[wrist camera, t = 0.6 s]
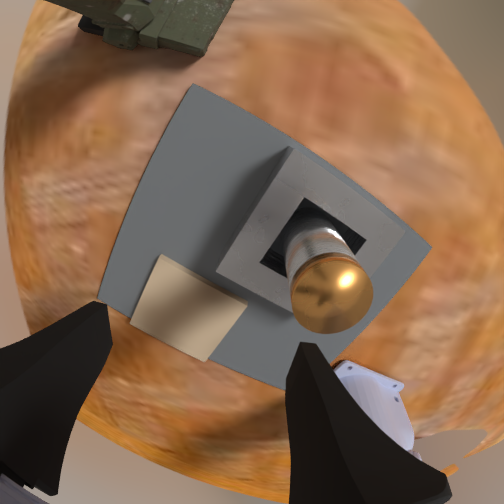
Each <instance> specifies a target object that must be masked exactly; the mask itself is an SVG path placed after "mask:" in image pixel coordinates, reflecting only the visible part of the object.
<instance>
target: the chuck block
mask: <svg viewBox="0 0 504 504" xmlns="http://www.w3.org/2000/svg"><path fill="white" fill-rule="evenodd" d="M304 197H305V198H307V199H308V200H310V201H311V202H313V203H315V204H316V205H318V206H319V207H320V208H322V209H323V210H325V211H326V212H328V213H329V214H331V215H332V216H334V217H335V218H337V219H338V220H340V221H341V222H342V223H344V224H345V225H347V226H348V227H349V228H348V229H347V231H346V232H345V234H344V235H343V236H342V238H343V240H344V241H345V242H346V244H347V245H348V247H349V248H350V250H351V251H352V253H353V254H354V256H355V257H356V259H357V260H358V262H359V263H360V265H361V266H362V268H363V269H364V271H365V272H366V274H367V275H368V277H369V278H370V277H371V276H372V275H373V274H374V272H375V271H376V270H377V269H378V267H379V266H380V265H381V263H382V262H383V261H384V260H385V258H386V257H387V256H388V254H389V253H390V252H391V251H392V249H393V248H394V247H395V245H396V244H397V243H398V241H399V240H400V239H401V237H402V236H403V234H404V233H405V232H406V231H405V230H403V229H402V228H401V227H400V226H399V225H397V224H396V223H395V222H394V221H393V220H391V219H390V218H389V217H388V216H387V215H385V214H384V213H383V212H382V211H380V210H379V209H378V208H377V207H375V206H374V205H373V204H372V203H370V202H369V201H368V200H366V199H365V198H364V197H363V196H361V195H360V194H359V193H357V192H356V191H355V190H353V189H352V188H351V187H349V186H348V185H347V184H345V183H344V182H342V181H341V180H340V179H338V178H337V177H335V176H334V175H333V174H331V173H330V172H328V171H327V170H326V169H324V168H323V167H321V166H320V165H318V164H317V163H315V162H314V161H312V160H311V159H309V158H308V157H306V156H305V155H303V154H302V153H300V152H299V151H297V150H296V149H294V148H292V147H290V146H288V148H287V149H286V151H285V152H284V154H283V155H282V157H281V158H280V160H279V162H278V163H277V165H276V166H275V168H274V169H273V171H272V172H271V174H270V175H269V177H268V178H267V180H266V182H265V183H264V185H263V186H262V188H261V189H260V191H259V192H258V194H257V196H256V197H255V199H254V200H253V202H252V203H251V205H250V207H249V208H248V210H247V211H246V213H245V215H244V216H243V218H242V219H241V221H240V222H239V224H238V226H237V227H236V229H235V230H234V232H233V234H232V235H231V237H230V239H229V240H228V242H227V243H226V245H225V247H224V248H223V250H222V252H221V255H220V259H219V262H218V265H217V268H216V271H215V272H217V273H219V274H221V275H223V276H225V277H226V278H228V279H230V280H232V281H234V282H236V283H237V284H239V285H241V286H243V287H245V288H247V289H249V290H250V291H252V292H254V293H256V294H258V295H260V296H262V297H264V298H265V299H267V300H269V301H271V302H273V303H275V304H277V305H279V306H281V307H283V308H285V309H286V310H288V311H290V312H292V313H293V311H292V304H291V298H290V291H289V285H288V278H287V272H286V266H285V260H284V256H282V255H280V254H278V253H277V252H275V251H273V250H272V249H270V246H271V245H272V243H273V242H274V241H275V239H276V238H277V236H278V235H279V233H280V232H281V230H282V229H283V227H284V226H285V225H286V223H287V222H288V220H289V219H290V217H291V216H292V214H293V213H294V211H295V210H296V209H297V207H298V206H299V204H300V203H301V201H302V200H303V198H304Z"/></svg>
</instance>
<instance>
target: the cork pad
mask: <svg viewBox="0 0 504 504" xmlns="http://www.w3.org/2000/svg"><path fill="white" fill-rule="evenodd" d="M247 306H248V301H246V300H245V299H243V298H241V297H239V296H237V295H235V294H233V293H231V292H229V291H228V290H226V289H224V288H222V287H220V286H218V285H216V284H215V283H213V282H211V281H209V280H207V279H205V278H204V277H202V276H200V275H198V274H196V273H194V272H193V271H191V270H189V269H187V268H186V267H184V266H182V265H180V264H178V263H177V262H175V261H173V260H171V259H170V258H168V257H166V256H164V255H163V254H161V255H160V257H159V258H158V260H157V263H156V265H155V267H154V269H153V271H152V273H151V275H150V278H149V280H148V282H147V284H146V286H145V289H144V291H143V293H142V295H141V298H140V300H139V302H138V305H137V307H136V309H135V312H134V314H133V316H132V319H131V321H130V324H131V325H133V326H135V327H137V328H138V329H140V330H142V331H144V332H146V333H147V334H149V335H151V336H153V337H155V338H157V339H159V340H160V341H162V342H164V343H166V344H168V345H170V346H172V347H174V348H176V349H178V350H180V351H182V352H184V353H186V354H188V355H190V356H192V357H194V358H197V359H199V360H201V361H203V362H205V361H206V360H207V359H208V357H209V356H210V355H211V353H212V352H213V351H214V350H215V348H216V347H217V346H218V344H219V343H220V342H221V340H222V339H223V338H224V336H225V335H226V334H227V333H228V331H229V330H230V329H231V327H232V326H233V325H234V323H235V322H236V321H237V319H238V318H239V317H240V315H241V314H242V313H243V311H244V310H245V309H246V307H247Z"/></svg>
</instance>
